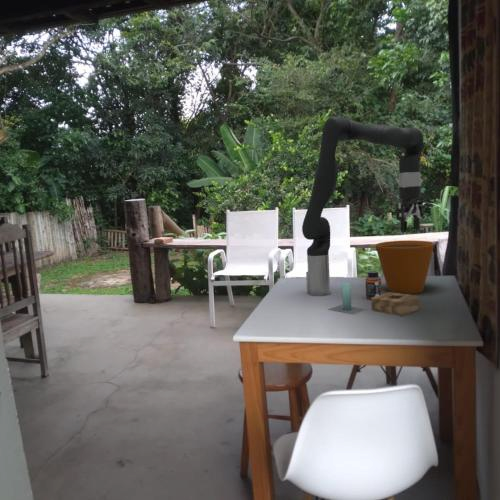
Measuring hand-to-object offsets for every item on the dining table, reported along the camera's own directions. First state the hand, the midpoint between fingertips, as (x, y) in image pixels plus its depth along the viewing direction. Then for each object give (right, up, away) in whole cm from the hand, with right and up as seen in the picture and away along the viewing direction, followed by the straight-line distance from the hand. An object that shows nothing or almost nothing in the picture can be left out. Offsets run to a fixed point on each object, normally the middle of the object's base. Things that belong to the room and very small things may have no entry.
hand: (410, 230), depth 174 cm
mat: (-22, -29, +6) cm, 37 cm away
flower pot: (+9, -24, +34) cm, 43 cm away
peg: (-22, -29, +6) cm, 37 cm away
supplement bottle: (-8, -27, +21) cm, 35 cm away
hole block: (-5, -29, +2) cm, 29 cm away
